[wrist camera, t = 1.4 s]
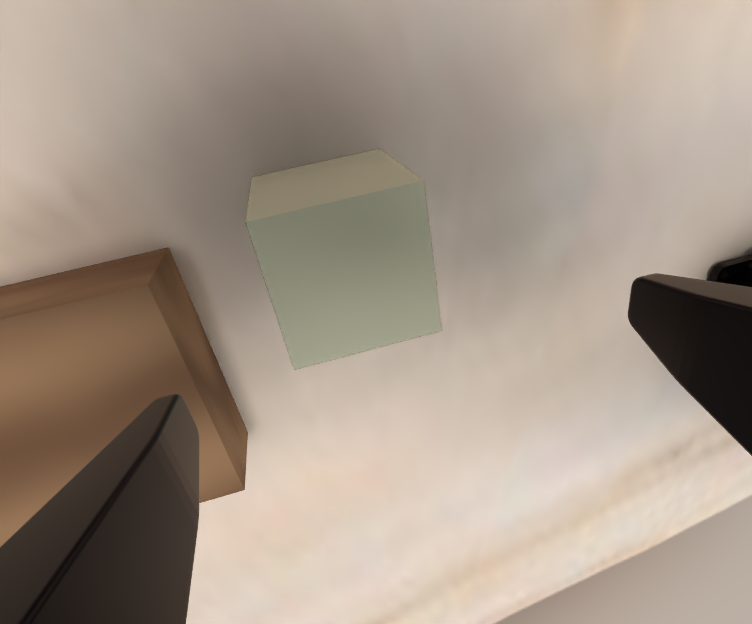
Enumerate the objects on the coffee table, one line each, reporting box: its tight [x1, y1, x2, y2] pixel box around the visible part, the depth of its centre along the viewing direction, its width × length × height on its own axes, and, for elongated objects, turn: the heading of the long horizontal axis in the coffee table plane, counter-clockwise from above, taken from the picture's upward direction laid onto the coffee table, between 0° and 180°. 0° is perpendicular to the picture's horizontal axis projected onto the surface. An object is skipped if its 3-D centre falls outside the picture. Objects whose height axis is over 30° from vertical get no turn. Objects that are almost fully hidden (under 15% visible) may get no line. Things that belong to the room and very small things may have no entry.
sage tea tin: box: [245, 149, 442, 370], centre depth 16 cm, size 5×5×6 cm
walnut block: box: [0, 247, 248, 547], centre depth 19 cm, size 10×10×4 cm
